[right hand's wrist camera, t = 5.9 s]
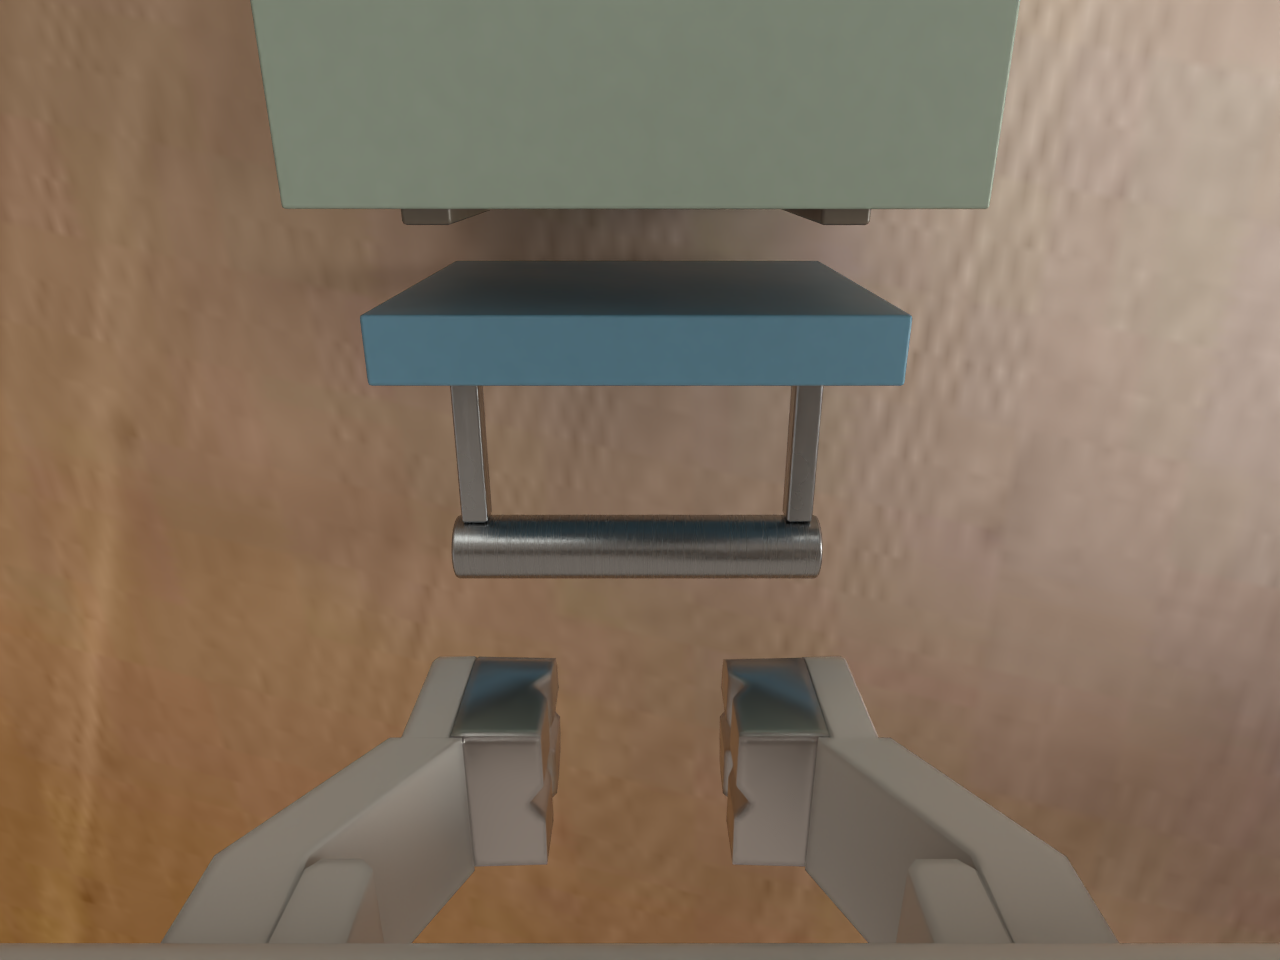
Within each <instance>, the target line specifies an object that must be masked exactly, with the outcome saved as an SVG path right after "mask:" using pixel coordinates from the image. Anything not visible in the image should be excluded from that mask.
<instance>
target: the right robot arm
mask: <svg viewBox="0 0 1280 960" xmlns="http://www.w3.org/2000/svg"><path fill="white" fill-rule="evenodd" d="M558 688H559V685H558V670H557V662H556V658H517V657H478V658H476V657H475V656H463V657H438V658H437V659H435V660H434V661H433V662H432V665H431V667H430V670H429V672H428V674H427V677H426V679H425V682H424V684H423V686H422V689H421V691H420V694H419V696H418V698H417V701H416V703H415V706H414V708H413V710H412V713H411V715H410V718H409V720H408V722H407V725H406V727H405V730H404V732H403V734H402V737H401V738H388V739H387V740H386V741H384V742H383V743H381V744H380V745H378V746H377V747H375V748H374V749H372V750H371V751H369V752H368V753H366V754H365V755H363V756H362V757H360V758H359V759H357V760H356V761H354V762H353V763H351V764H350V765H348V766H347V767H345V768H344V769H342V770H341V771H339V772H338V773H336V774H335V775H333V776H332V777H331V778H329V779H328V780H326V781H325V782H323V783H322V784H320V785H319V786H317V787H316V788H314V789H313V790H311V791H310V792H308V793H307V794H305V795H304V796H302V797H301V798H299V799H298V800H296V801H295V802H293V803H292V804H290V805H289V806H287V807H286V808H284V809H283V810H281V811H280V812H278V813H277V814H275V815H274V816H273V817H271V818H270V819H268V820H267V821H265V822H264V823H262V824H261V825H259V826H258V827H256V828H255V829H253V830H252V831H250V832H249V833H247V834H246V835H244V836H243V837H241V838H240V839H238V840H237V841H235V842H234V843H232V844H231V845H229V846H228V847H226V848H225V849H223V850H222V851H220V852H219V853H218V854H216V855H215V856H214V857H213V859H212V861H211V862H210V864H209V865H208V867H207V869H206V870H205V872H204V874H203V875H202V877H201V878H200V880H199V882H198V883H197V885H196V886H195V888H194V890H193V891H192V893H191V895H190V896H189V898H188V899H187V901H186V903H185V904H184V906H183V908H182V909H181V911H180V912H179V914H178V916H177V917H176V919H175V921H174V922H173V924H172V925H171V927H170V929H169V930H168V932H167V934H166V935H165V937H164V938H163V940H162V942H161V943H0V960H1280V943H1119V942H1118V940H1117V939H1116V937H1115V935H1114V934H1113V932H1112V931H1111V929H1110V927H1109V926H1108V924H1107V922H1106V921H1105V919H1104V917H1103V916H1102V914H1101V912H1100V911H1099V909H1098V908H1097V906H1096V904H1095V903H1094V901H1093V899H1092V898H1091V896H1090V894H1089V893H1088V891H1087V890H1086V888H1085V886H1084V885H1083V883H1082V881H1081V880H1080V878H1079V876H1078V875H1077V873H1076V872H1075V870H1074V868H1073V867H1072V865H1071V863H1070V862H1069V860H1068V858H1067V857H1066V856H1065V855H1063V854H1062V853H1060V852H1059V851H1057V850H1056V849H1054V848H1053V847H1051V846H1050V845H1048V844H1047V843H1045V842H1044V841H1042V840H1041V839H1039V838H1038V837H1037V836H1035V835H1034V834H1032V833H1031V832H1029V831H1028V830H1026V829H1025V828H1023V827H1022V826H1020V825H1019V824H1017V823H1016V822H1014V821H1013V820H1011V819H1010V818H1008V817H1007V816H1005V815H1004V814H1002V813H1001V812H999V811H998V810H997V809H995V808H994V807H992V806H991V805H989V804H988V803H986V802H985V801H983V800H982V799H980V798H979V797H977V796H976V795H974V794H973V793H971V792H970V791H968V790H967V789H965V788H964V787H962V786H961V785H960V784H958V783H957V782H955V781H954V780H952V779H951V778H949V777H948V776H946V775H945V774H943V773H942V772H940V771H939V770H937V769H936V768H934V767H933V766H931V765H930V764H928V763H927V762H925V761H924V760H923V759H921V758H920V757H918V756H917V755H915V754H914V753H912V752H911V751H909V750H908V749H906V748H905V747H903V746H902V745H900V744H899V743H897V742H896V741H894V740H893V739H891V738H879V737H878V735H877V732H876V730H875V728H874V725H873V723H872V721H871V718H870V716H869V714H868V711H867V709H866V706H865V704H864V702H863V699H862V697H861V695H860V692H859V690H858V687H857V685H856V683H855V680H854V678H853V676H852V673H851V671H850V668H849V666H848V664H847V661H846V660H845V659H844V658H843V657H841V656H826V657H802V658H772V659H724V660H723V668H722V683H721V689H722V696H723V703H724V710H725V712H724V713H723V714H722V715H721V716H720V739H719V740H720V771H721V781H722V789H723V794H725V795H726V796H727V828H728V835H729V842H730V849H731V856H732V863H733V864H736V865H772V866H806V867H805V870H806V871H807V873H808V874H809V875H810V876H811V877H812V878H813V879H814V881H815V882H816V883H817V884H818V885H819V886H820V887H821V889H822V890H823V891H824V892H825V893H826V894H827V896H828V897H829V898H830V899H831V900H832V901H833V902H834V904H835V905H836V906H837V907H838V908H839V909H840V911H841V912H842V913H843V914H844V915H845V916H846V917H847V919H848V920H849V921H850V922H851V923H852V924H853V926H854V927H855V928H856V929H857V930H858V931H859V932H860V934H861V935H862V936H863V937H864V938H865V939H866V941H867V942H868V943H412V942H413V941H414V940H415V939H416V937H417V936H418V935H419V934H420V933H421V932H422V930H423V929H424V928H425V927H426V926H427V925H428V924H429V922H430V921H431V920H432V919H433V918H434V917H435V916H436V914H437V913H438V912H439V911H440V910H441V909H442V908H443V906H444V905H445V904H446V903H447V902H448V901H449V899H450V898H451V897H452V896H453V895H454V894H455V893H456V891H457V890H458V889H459V888H460V887H461V886H462V885H463V883H464V882H465V881H466V880H467V879H468V878H469V877H470V875H471V874H472V873H473V872H474V871H475V870H474V866H507V865H541V864H547V863H548V856H549V848H550V841H551V834H552V827H553V799H552V797H553V796H554V795H555V794H556V793H557V789H558V780H559V768H560V716H559V715H558V714H557V713H556V712H555V709H556V702H557V695H558Z"/></svg>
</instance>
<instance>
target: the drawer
mask: <svg viewBox="0 0 1280 960" xmlns="http://www.w3.org/2000/svg"><path fill="white" fill-rule="evenodd" d="M488 210H491V209H401V214H402V221H403V223H404V224H406V225H449V224H452V223H455V222H458V221H460V220H463V219H466V218H469V217H472V216H474V215H477V214H480V213H483V212H486V211H488ZM782 210H785V211H788V212H790V213H793V214H796V215H799V216H801V217H804V218H807V219H809V220H812V221H815V222H817V223H820V224H823V225H866V224H868V223H869V221H870V214H871V209H782ZM360 323H361V331H362V338H363V346H364V354H365V362H366V370H367V378H368V383H369V385H372V386H450V390H451V401H452V413H453V424H454V435H455V447H456V458H457V469H458V481H459V492H460V503H461V515H460V516H458V517H457V519H456V521H455V524H454V528H453V534H452V563H453V569H454V572H455V575H456V576H457V577H458V578H816V577H817V576H818V575H819V572H820V569H821V564H822V534H821V527H820V524H819V521H818V518H817V517H816V516H814V515H812V514H813V502H814V490H815V479H816V467H817V455H818V444H819V432H820V420H821V409H822V397H823V386H901V385H903V384H904V381H905V373H906V365H907V357H908V349H909V340H910V332H911V324H912V316H911V315H909V314H908V313H906V312H904V311H903V310H901V309H899V308H897V307H896V306H894V305H892V304H891V303H889V302H887V301H885V300H884V299H882V298H880V297H879V296H877V295H875V294H873V293H872V292H870V291H868V290H867V289H865V288H863V287H861V286H860V285H858V284H856V283H855V282H853V281H851V280H849V279H848V278H846V277H844V276H843V275H841V274H839V273H838V272H836V271H834V270H832V269H831V268H829V267H827V266H826V265H824V264H822V263H820V262H818V261H456V262H454V263H452V264H450V265H449V266H447V267H445V268H443V269H442V270H440V271H438V272H436V273H435V274H433V275H431V276H429V277H428V278H426V279H424V280H422V281H421V282H419V283H417V284H415V285H414V286H412V287H410V288H408V289H407V290H405V291H403V292H401V293H400V294H398V295H396V296H394V297H393V298H391V299H389V300H387V301H386V302H384V303H382V304H380V305H379V306H377V307H375V308H373V309H372V310H370V311H368V312H366V313H364V314H363V315H361V317H360ZM483 386H791V399H790V413H789V428H788V442H787V456H786V470H785V484H784V498H783V513H784V515H490V514H491V512H492V508H491V494H490V480H489V467H488V453H487V439H486V426H485V412H484V398H483Z"/></svg>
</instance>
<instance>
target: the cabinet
mask: <svg viewBox="0 0 1280 960" xmlns="http://www.w3.org/2000/svg"><path fill="white" fill-rule="evenodd" d="M250 1H251V8H252V14H253V21H254V27H255V34H256V40H257V47H258V53H259V60H260V66H261V73H262V79H263V86H264V92H265V99H266V105H267V112H268V118H269V125H270V131H271V138H272V144H273V151H274V157H275V164H276V170H277V177H278V183H279V190H280V197H281V203H282V207H283V208H285V209H987V208H988V207H989V205H990V198H991V191H992V185H993V178H994V171H995V165H996V158H997V151H998V145H999V138H1000V131H1001V125H1002V118H1003V111H1004V105H1005V98H1006V91H1007V85H1008V78H1009V71H1010V65H1011V58H1012V51H1013V45H1014V38H1015V32H1016V25H1017V18H1018V12H1019V5H1020V0H250Z"/></svg>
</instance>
